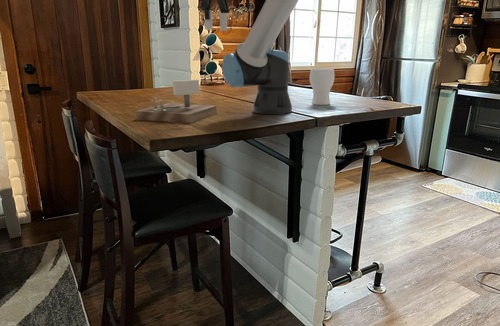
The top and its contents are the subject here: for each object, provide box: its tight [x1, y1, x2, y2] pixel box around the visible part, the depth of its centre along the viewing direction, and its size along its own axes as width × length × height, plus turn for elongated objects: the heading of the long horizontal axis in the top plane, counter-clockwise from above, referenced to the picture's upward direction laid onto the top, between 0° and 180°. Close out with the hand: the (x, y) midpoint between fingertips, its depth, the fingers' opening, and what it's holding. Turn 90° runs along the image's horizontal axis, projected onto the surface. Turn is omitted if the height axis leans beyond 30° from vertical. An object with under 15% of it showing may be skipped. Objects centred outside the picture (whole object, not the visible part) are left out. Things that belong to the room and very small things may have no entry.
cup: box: [309, 67, 336, 106], centre depth 167 cm, size 11×11×15 cm
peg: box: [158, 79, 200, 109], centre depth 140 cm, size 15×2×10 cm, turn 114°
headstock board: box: [135, 97, 218, 124], centre depth 141 cm, size 22×20×7 cm
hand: (216, 30), depth 147 cm, fingers open, 13 cm apart
